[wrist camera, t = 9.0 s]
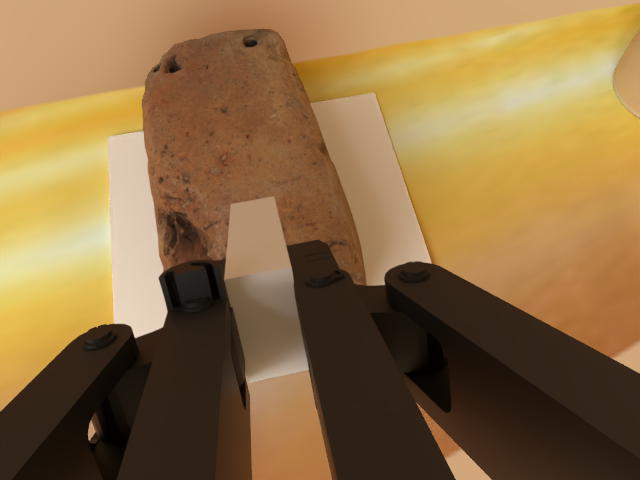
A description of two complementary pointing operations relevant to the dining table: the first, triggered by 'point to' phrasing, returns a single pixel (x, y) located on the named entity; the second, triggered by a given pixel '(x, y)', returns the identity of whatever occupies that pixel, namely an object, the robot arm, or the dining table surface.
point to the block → (239, 149)
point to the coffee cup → (629, 77)
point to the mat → (355, 177)
